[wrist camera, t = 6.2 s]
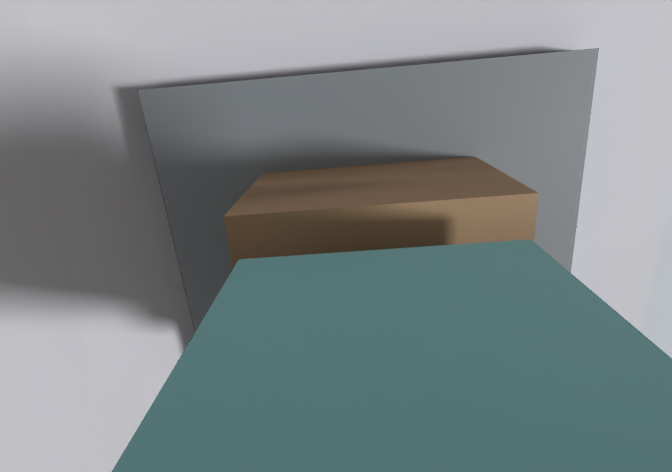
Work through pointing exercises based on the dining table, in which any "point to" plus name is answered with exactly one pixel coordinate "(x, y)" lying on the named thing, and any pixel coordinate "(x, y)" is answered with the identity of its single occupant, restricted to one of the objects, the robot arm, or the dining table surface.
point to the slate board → (368, 140)
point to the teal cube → (410, 371)
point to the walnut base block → (379, 209)
